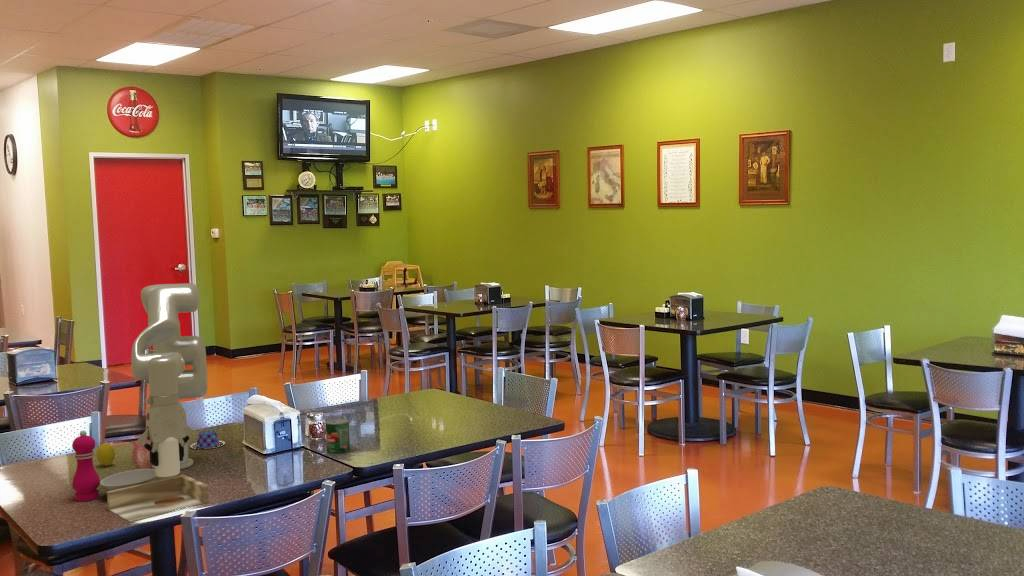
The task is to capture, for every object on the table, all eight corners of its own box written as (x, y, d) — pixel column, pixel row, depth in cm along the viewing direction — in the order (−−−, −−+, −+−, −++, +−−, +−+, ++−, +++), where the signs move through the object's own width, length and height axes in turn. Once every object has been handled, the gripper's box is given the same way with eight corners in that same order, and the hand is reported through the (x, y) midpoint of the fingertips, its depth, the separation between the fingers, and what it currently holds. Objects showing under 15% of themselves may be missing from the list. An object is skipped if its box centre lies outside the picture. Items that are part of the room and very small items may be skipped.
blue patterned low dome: (207, 452, 302) (206, 437, 301) (182, 448, 307) (181, 434, 306) (232, 444, 312) (232, 429, 312) (208, 441, 318) (207, 426, 317)
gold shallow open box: (107, 509, 241) (106, 491, 241) (184, 490, 257) (183, 474, 256) (129, 522, 230) (128, 504, 229) (208, 502, 245) (208, 485, 245)
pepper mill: (82, 503, 247) (77, 434, 245) (68, 499, 251) (63, 431, 249) (105, 496, 253) (101, 429, 251) (91, 492, 257) (87, 426, 255)
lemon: (93, 467, 284) (92, 444, 283) (107, 463, 289) (105, 439, 288) (106, 469, 281) (104, 445, 281) (119, 464, 287) (118, 441, 286)
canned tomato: (353, 450, 299) (352, 418, 299) (344, 456, 292) (343, 424, 291) (332, 449, 301) (331, 418, 300) (322, 455, 294) (321, 423, 293)
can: (184, 472, 248) (182, 430, 247) (171, 478, 242) (169, 436, 241) (164, 471, 249) (162, 430, 249) (150, 477, 243) (148, 435, 242)
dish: (137, 482, 266) (136, 466, 266) (172, 487, 260) (171, 471, 260) (88, 499, 250) (87, 482, 250) (124, 505, 244) (123, 488, 244)
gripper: (138, 407, 235) (141, 471, 237) (199, 397, 248) (202, 458, 249) (127, 403, 241) (131, 466, 242) (188, 394, 253) (191, 454, 254)
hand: (167, 462), depth 245 cm, fingers closed on can, 6 cm apart
